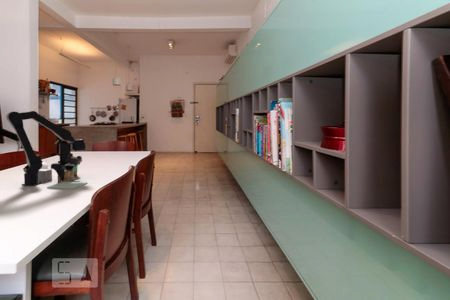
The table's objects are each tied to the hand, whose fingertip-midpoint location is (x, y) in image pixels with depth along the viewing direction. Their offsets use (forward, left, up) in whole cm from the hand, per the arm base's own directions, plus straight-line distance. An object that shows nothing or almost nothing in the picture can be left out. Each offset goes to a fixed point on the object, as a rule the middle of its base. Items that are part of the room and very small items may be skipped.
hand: (65, 179), depth 178 cm
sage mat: (-12, -8, -1) cm, 14 cm away
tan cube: (0, 0, -1) cm, 1 cm away
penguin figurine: (+11, +20, -1) cm, 23 cm away
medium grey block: (0, +13, -1) cm, 13 cm away
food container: (+15, +4, -1) cm, 16 cm away
